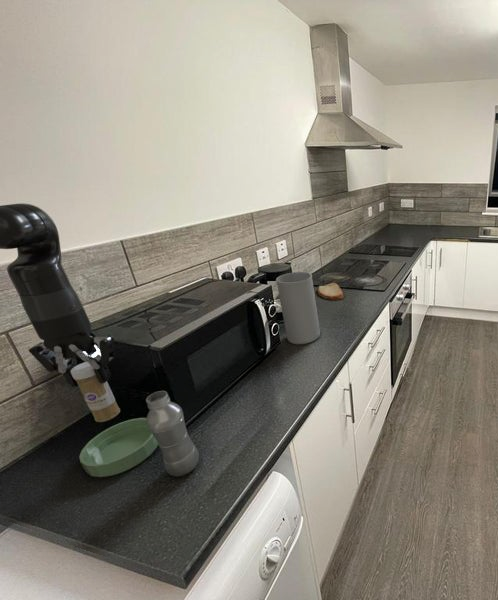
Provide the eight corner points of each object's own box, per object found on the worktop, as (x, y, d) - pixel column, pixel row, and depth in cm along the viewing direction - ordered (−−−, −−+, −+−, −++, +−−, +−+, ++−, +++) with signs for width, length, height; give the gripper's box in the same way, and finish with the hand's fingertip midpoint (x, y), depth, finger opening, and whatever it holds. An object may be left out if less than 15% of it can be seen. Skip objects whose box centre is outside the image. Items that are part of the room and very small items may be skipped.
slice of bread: (341, 300, 160) (340, 293, 159) (308, 298, 164) (307, 291, 163) (354, 288, 176) (353, 281, 175) (324, 286, 180) (323, 280, 179)
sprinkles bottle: (93, 426, 70) (66, 374, 65) (97, 413, 74) (73, 364, 68) (119, 417, 72) (95, 367, 67) (123, 406, 76) (100, 357, 70)
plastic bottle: (170, 486, 68) (137, 413, 60) (166, 466, 73) (135, 395, 65) (204, 469, 72) (177, 397, 64) (198, 450, 77) (173, 382, 69)
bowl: (70, 484, 69) (62, 471, 68) (111, 435, 82) (105, 423, 81) (143, 471, 72) (137, 458, 70) (172, 425, 85) (167, 413, 83)
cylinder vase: (290, 348, 119) (278, 285, 110) (285, 334, 130) (274, 275, 120) (323, 340, 124) (314, 279, 114) (316, 327, 135) (308, 270, 125)
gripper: (110, 300, 67) (138, 368, 74) (29, 307, 65) (66, 377, 71) (85, 314, 60) (118, 388, 67) (-6, 323, 58) (38, 399, 64)
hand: (91, 382), depth 69 cm, fingers closed on sprinkles bottle, 4 cm apart
